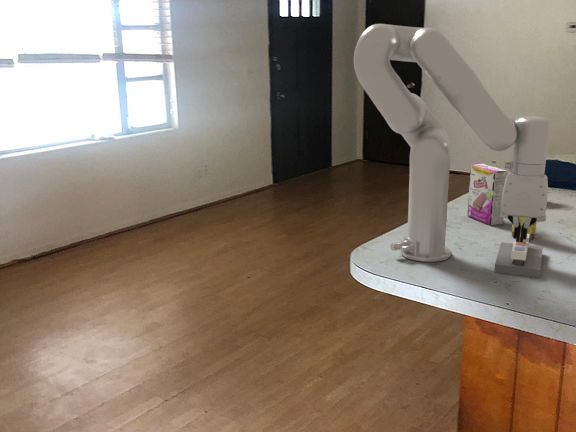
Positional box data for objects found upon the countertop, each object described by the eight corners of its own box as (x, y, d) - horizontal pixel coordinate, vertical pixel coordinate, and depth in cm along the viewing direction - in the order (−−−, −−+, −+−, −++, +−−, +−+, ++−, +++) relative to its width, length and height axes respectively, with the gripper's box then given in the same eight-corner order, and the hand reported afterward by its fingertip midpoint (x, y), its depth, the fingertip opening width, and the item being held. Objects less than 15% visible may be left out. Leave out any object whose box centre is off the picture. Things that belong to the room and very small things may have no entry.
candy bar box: (466, 216, 189) (469, 164, 185) (479, 214, 191) (483, 163, 187) (490, 226, 179) (494, 171, 175) (503, 224, 181) (508, 170, 177)
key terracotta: (525, 261, 147) (527, 246, 146) (511, 259, 148) (513, 244, 147) (526, 257, 150) (528, 242, 149) (512, 255, 151) (514, 240, 150)
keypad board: (539, 277, 142) (540, 269, 141) (494, 272, 146) (494, 264, 145) (542, 254, 157) (542, 246, 156) (500, 249, 160) (501, 242, 160)
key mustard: (527, 251, 154) (528, 236, 152) (514, 249, 155) (515, 235, 154) (528, 247, 156) (529, 233, 155) (514, 245, 158) (516, 231, 157)
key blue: (524, 266, 144) (526, 251, 142) (510, 265, 145) (511, 249, 144) (525, 262, 146) (527, 247, 145) (511, 260, 148) (512, 245, 147)
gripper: (493, 169, 146) (486, 242, 151) (561, 175, 140) (551, 250, 145) (496, 163, 152) (489, 233, 158) (562, 168, 147) (552, 241, 152)
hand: (519, 241), depth 151 cm, fingers closed
